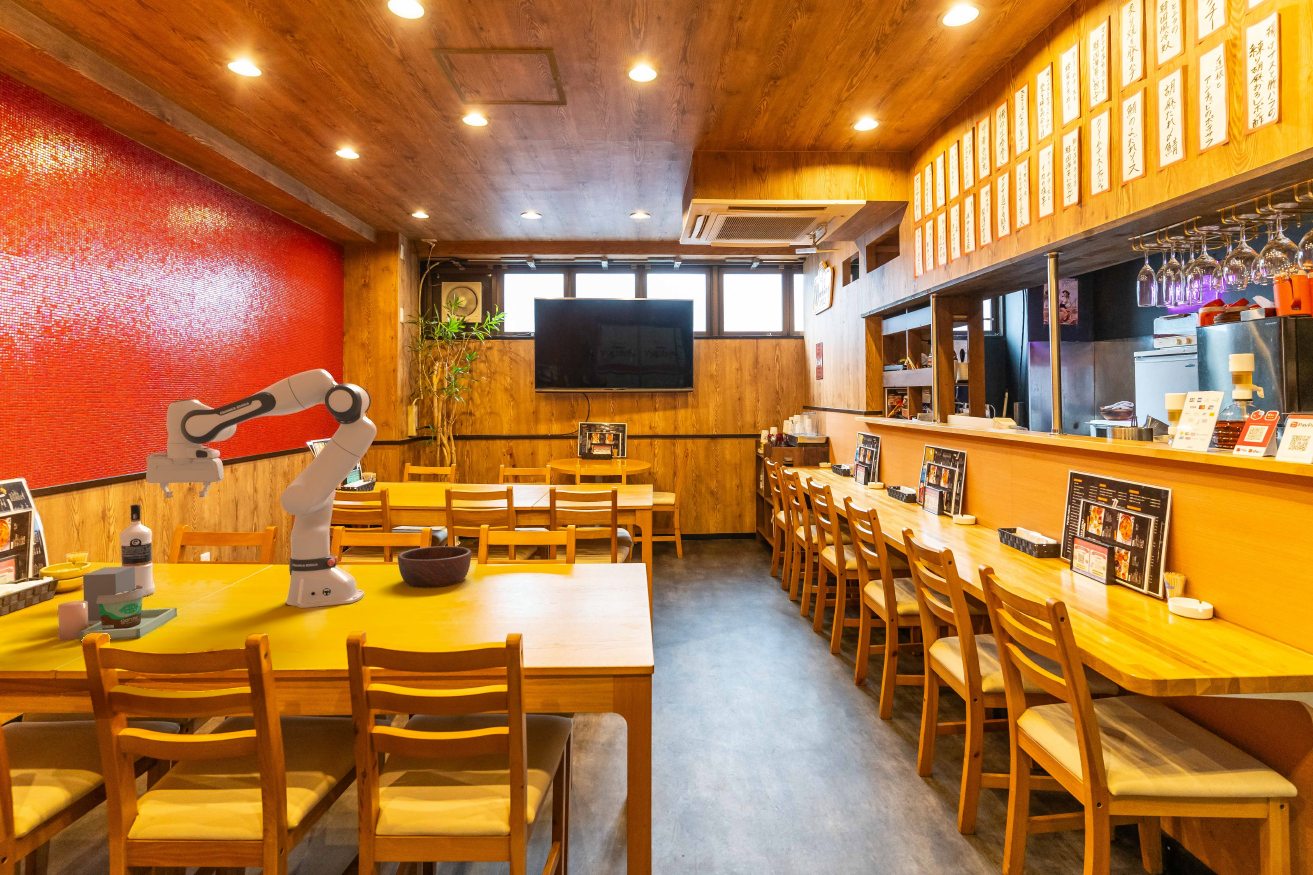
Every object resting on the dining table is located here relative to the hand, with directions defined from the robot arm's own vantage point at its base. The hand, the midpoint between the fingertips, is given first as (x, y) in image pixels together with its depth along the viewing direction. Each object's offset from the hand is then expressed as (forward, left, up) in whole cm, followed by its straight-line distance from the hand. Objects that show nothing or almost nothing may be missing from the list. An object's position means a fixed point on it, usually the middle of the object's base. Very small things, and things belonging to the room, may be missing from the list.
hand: (186, 497), depth 208 cm
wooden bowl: (-71, -18, -34) cm, 81 cm away
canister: (+17, +25, -34) cm, 46 cm away
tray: (+6, +20, -34) cm, 40 cm away
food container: (+7, +20, -34) cm, 40 cm away
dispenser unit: (+17, +8, -34) cm, 39 cm away
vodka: (+23, -19, -34) cm, 45 cm away
